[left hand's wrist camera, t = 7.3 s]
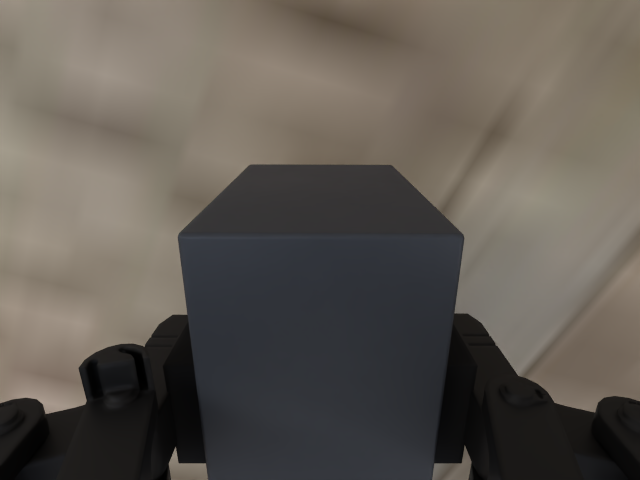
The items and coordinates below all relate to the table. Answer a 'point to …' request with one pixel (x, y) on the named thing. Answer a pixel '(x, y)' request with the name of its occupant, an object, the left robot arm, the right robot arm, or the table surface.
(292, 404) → the beam
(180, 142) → the table surface
